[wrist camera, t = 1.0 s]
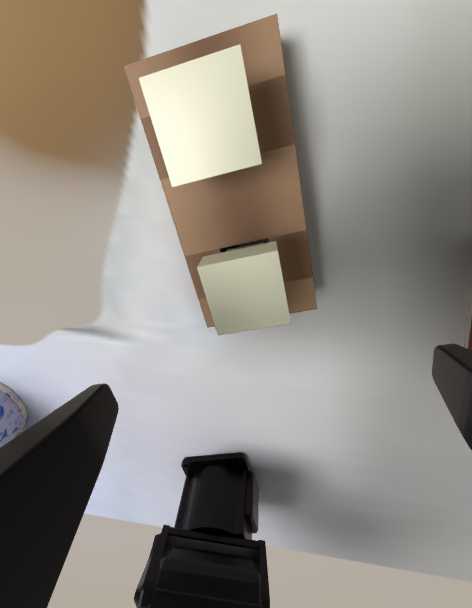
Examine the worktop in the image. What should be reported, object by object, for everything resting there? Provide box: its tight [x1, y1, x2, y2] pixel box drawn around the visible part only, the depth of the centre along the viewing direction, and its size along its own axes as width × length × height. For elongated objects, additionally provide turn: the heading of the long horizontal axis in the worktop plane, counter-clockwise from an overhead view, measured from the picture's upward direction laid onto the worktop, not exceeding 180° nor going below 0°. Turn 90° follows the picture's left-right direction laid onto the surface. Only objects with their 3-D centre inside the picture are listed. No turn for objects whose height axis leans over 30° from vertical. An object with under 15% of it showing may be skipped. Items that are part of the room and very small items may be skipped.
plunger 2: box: [197, 241, 291, 335], centre depth 16 cm, size 4×4×5 cm
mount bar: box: [124, 14, 317, 327], centre depth 17 cm, size 7×14×3 cm, turn 13°
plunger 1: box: [139, 44, 262, 187], centre depth 13 cm, size 4×4×5 cm
